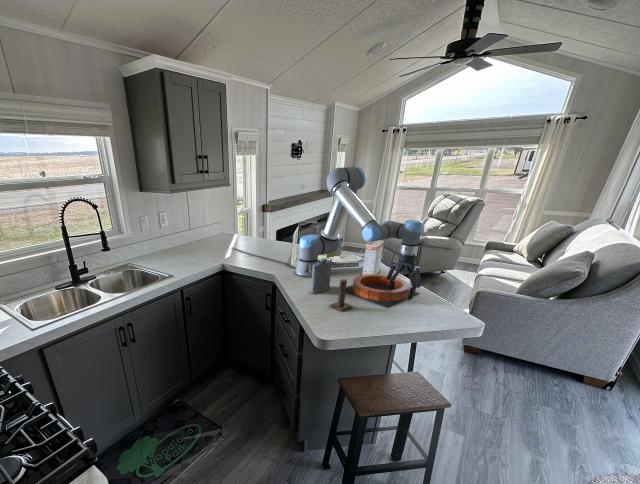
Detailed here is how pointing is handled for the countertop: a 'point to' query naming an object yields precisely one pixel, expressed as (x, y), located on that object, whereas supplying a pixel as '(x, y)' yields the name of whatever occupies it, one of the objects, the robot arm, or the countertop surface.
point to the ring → (377, 294)
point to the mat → (379, 287)
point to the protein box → (336, 253)
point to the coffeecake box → (373, 257)
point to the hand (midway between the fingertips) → (400, 296)
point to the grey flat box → (321, 276)
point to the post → (341, 297)
